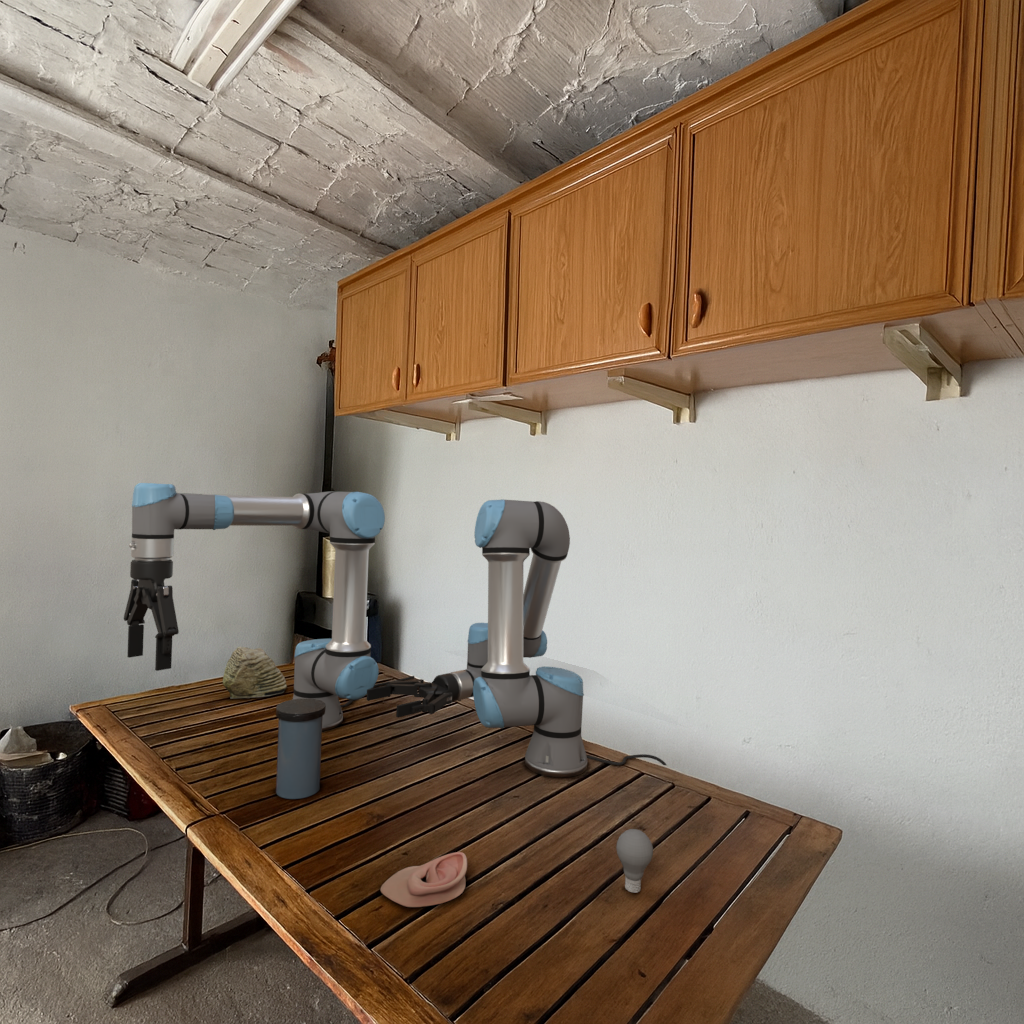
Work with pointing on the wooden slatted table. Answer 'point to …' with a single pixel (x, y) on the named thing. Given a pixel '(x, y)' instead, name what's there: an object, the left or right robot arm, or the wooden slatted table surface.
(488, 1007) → the wooden slatted table surface
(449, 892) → the anatomical model
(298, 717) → the lid
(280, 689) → the fossil
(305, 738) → the jar
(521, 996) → the wooden slatted table surface
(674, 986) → the wooden slatted table surface
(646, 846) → the light bulb
